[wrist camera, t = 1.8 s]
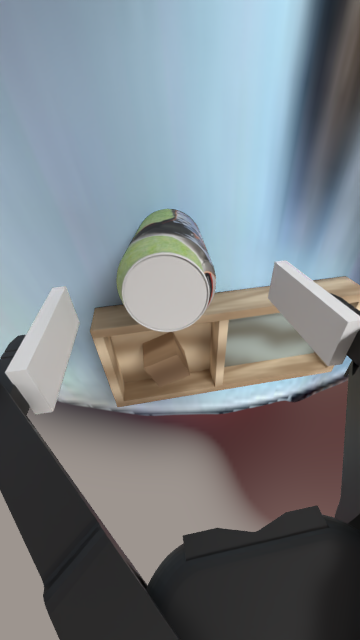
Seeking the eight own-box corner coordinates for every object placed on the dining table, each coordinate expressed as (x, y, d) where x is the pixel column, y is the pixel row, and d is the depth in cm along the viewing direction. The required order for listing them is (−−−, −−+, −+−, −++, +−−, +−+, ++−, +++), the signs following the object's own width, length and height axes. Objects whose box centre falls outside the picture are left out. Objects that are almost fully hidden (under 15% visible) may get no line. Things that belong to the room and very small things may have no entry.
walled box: (94, 307, 26) (89, 330, 23) (345, 276, 29) (371, 292, 26) (118, 382, 34) (117, 407, 31) (314, 351, 37) (331, 371, 34)
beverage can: (185, 274, 26) (216, 353, 16) (116, 257, 23) (105, 338, 14) (208, 215, 22) (263, 271, 13) (129, 188, 20) (126, 232, 11)
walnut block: (142, 343, 29) (143, 368, 26) (172, 330, 29) (177, 354, 26) (156, 362, 32) (159, 387, 29) (184, 351, 31) (190, 375, 28)
